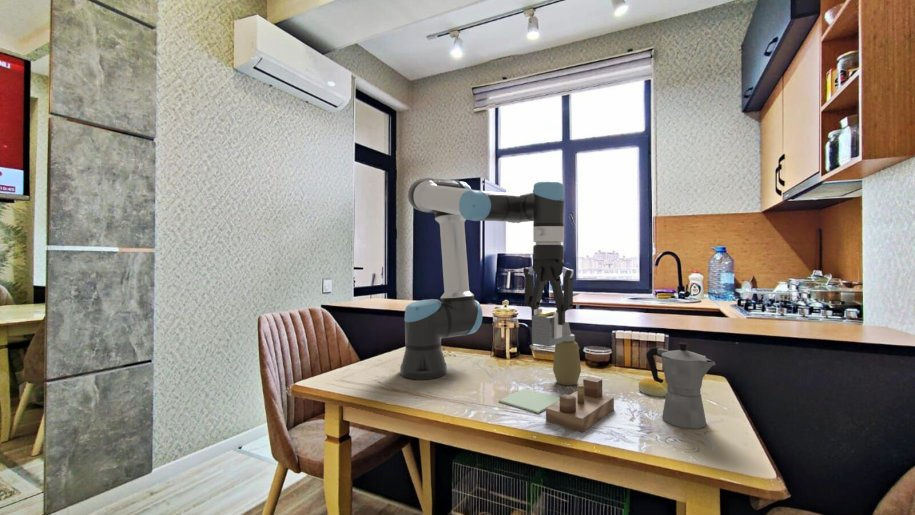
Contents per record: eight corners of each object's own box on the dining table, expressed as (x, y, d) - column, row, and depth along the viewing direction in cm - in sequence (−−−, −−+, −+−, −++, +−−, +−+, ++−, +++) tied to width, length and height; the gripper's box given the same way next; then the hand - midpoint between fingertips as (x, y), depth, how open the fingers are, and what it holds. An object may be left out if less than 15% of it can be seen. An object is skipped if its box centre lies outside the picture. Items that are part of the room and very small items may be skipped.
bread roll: (632, 388, 116) (632, 374, 116) (661, 386, 118) (661, 372, 117) (651, 398, 108) (651, 383, 108) (681, 396, 109) (681, 381, 109)
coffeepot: (724, 425, 91) (724, 344, 90) (704, 436, 85) (704, 351, 85) (657, 404, 103) (656, 333, 103) (636, 413, 98) (635, 338, 98)
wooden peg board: (582, 432, 88) (582, 400, 88) (545, 421, 94) (545, 390, 94) (614, 409, 101) (613, 381, 101) (579, 400, 107) (579, 374, 107)
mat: (498, 401, 107) (498, 399, 107) (524, 389, 116) (524, 388, 116) (538, 413, 99) (538, 411, 99) (563, 400, 107) (563, 398, 107)
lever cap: (531, 343, 103) (532, 312, 102) (546, 338, 108) (546, 309, 107) (549, 346, 99) (549, 314, 99) (563, 341, 104) (563, 311, 104)
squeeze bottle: (582, 387, 117) (581, 325, 116) (553, 386, 118) (552, 324, 118) (579, 379, 124) (579, 320, 124) (552, 377, 126) (552, 319, 126)
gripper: (510, 243, 106) (509, 332, 107) (574, 243, 94) (574, 344, 95) (526, 243, 111) (525, 328, 112) (589, 243, 99) (588, 338, 100)
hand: (547, 335), depth 103 cm, fingers closed on lever cap, 5 cm apart
